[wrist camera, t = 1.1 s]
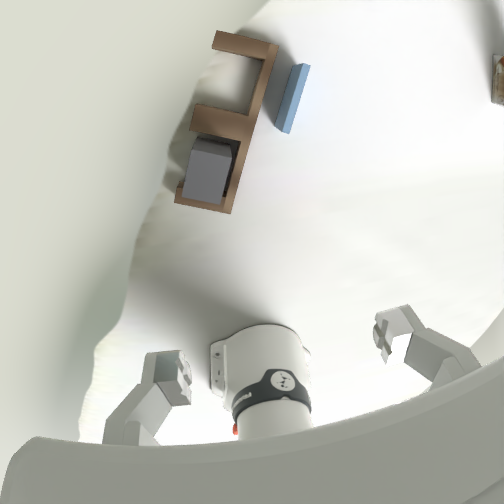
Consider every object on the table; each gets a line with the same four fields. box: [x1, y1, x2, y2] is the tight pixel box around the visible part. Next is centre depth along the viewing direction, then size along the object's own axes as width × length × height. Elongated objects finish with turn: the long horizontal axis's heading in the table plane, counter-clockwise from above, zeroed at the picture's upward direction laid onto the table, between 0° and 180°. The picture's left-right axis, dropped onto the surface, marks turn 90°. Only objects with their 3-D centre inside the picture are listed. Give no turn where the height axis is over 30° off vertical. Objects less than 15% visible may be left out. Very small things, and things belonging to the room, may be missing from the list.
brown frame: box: [174, 30, 310, 214], centre depth 33 cm, size 21×10×5 cm, turn 164°
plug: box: [182, 137, 232, 205], centre depth 33 cm, size 5×4×8 cm
